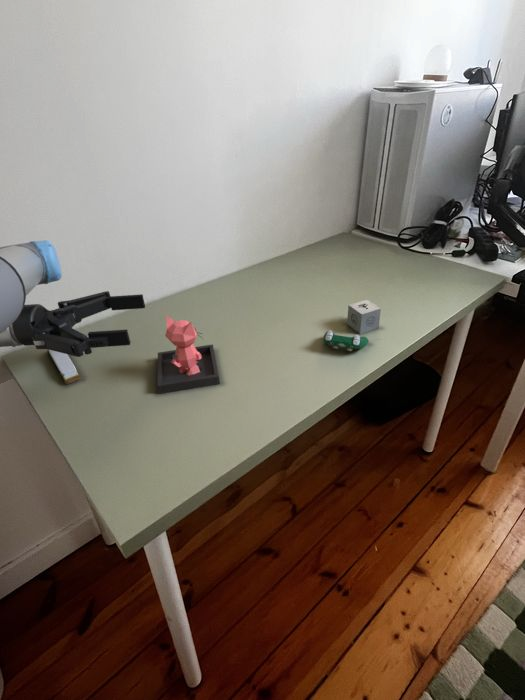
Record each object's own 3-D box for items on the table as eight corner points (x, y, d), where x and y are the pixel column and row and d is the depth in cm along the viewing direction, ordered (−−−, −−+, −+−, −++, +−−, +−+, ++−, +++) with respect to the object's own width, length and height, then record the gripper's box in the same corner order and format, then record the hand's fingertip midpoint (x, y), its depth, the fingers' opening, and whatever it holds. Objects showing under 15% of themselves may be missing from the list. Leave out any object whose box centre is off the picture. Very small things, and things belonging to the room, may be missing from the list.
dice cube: (365, 318, 101) (366, 299, 98) (378, 328, 97) (380, 308, 95) (347, 324, 100) (348, 304, 97) (360, 334, 96) (361, 314, 93)
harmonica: (48, 354, 95) (45, 346, 94) (62, 349, 97) (59, 341, 96) (65, 385, 85) (62, 377, 84) (81, 379, 87) (78, 371, 86)
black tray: (159, 393, 82) (157, 386, 81) (159, 359, 91) (157, 352, 90) (220, 384, 83) (219, 376, 82) (213, 351, 93) (212, 344, 92)
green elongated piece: (323, 348, 95) (318, 342, 89) (327, 332, 95) (322, 325, 90) (365, 356, 92) (363, 350, 86) (369, 338, 92) (367, 332, 87)
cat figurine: (212, 366, 88) (204, 314, 81) (191, 384, 83) (181, 331, 76) (185, 357, 91) (175, 306, 84) (163, 374, 86) (151, 322, 80)
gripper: (52, 311, 92) (152, 305, 92) (-3, 383, 71) (125, 374, 71) (41, 279, 88) (145, 272, 88) (-22, 344, 67) (115, 335, 67)
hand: (136, 318), depth 80 cm, fingers open, 13 cm apart
